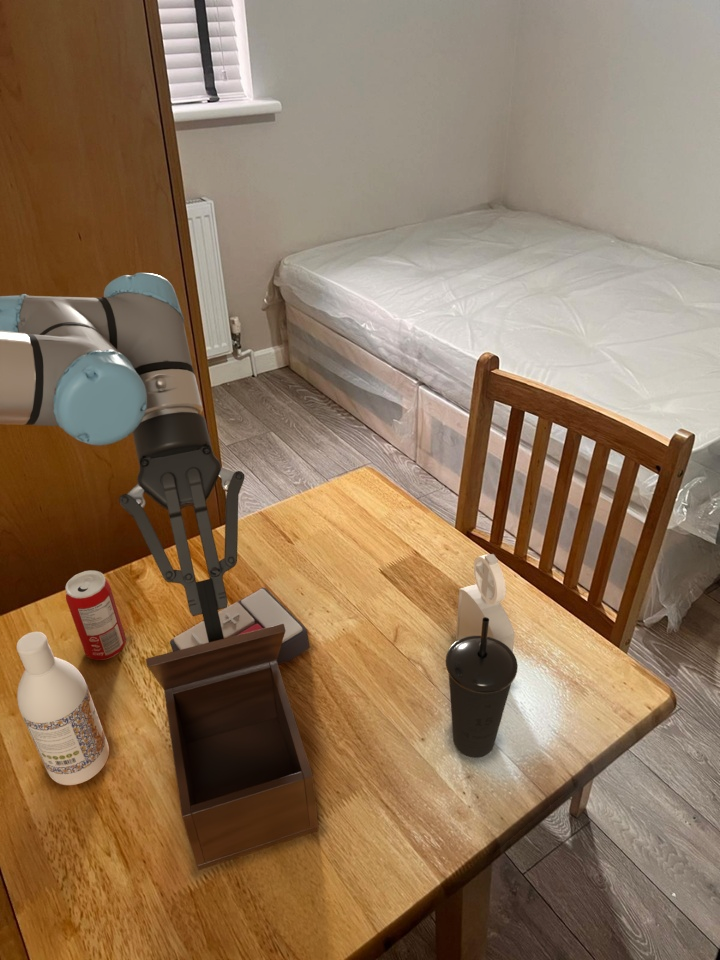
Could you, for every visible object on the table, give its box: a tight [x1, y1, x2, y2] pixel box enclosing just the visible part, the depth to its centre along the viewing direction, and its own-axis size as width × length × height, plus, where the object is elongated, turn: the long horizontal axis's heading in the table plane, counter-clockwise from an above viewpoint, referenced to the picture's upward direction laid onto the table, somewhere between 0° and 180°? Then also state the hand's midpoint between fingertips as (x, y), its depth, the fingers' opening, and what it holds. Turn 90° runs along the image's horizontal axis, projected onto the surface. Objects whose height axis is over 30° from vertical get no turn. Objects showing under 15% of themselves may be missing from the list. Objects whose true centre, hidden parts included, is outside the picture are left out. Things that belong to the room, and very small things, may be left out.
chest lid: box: [145, 624, 286, 691], centre depth 75 cm, size 17×13×1 cm
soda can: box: [64, 569, 127, 661], centre depth 96 cm, size 6×6×12 cm
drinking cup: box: [445, 617, 518, 759], centre depth 80 cm, size 8×8×20 cm
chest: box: [163, 660, 319, 871], centre depth 79 cm, size 16×13×10 cm
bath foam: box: [16, 631, 110, 786], centre depth 80 cm, size 7×7×20 cm
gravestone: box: [455, 553, 516, 653], centre depth 91 cm, size 3×9×18 cm, turn 20°
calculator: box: [169, 587, 311, 666], centre depth 97 cm, size 11×4×15 cm
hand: (217, 645), depth 73 cm, fingers closed
